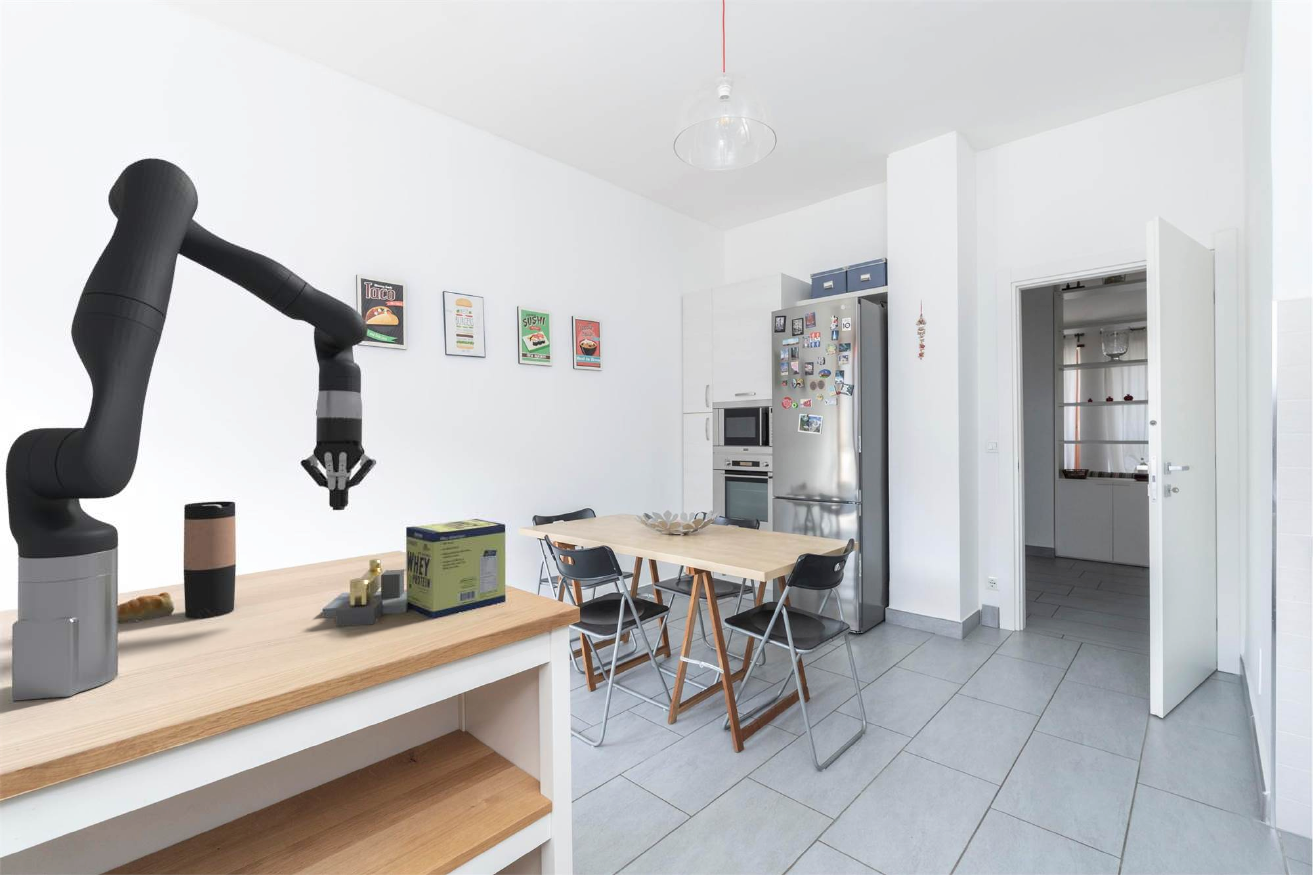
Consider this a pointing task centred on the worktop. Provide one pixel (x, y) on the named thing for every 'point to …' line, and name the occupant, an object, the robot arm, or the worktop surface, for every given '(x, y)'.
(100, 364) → the robot arm
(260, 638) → the worktop surface
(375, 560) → the bar
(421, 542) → the protein box
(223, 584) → the travel mug
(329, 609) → the plate
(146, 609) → the pastry
